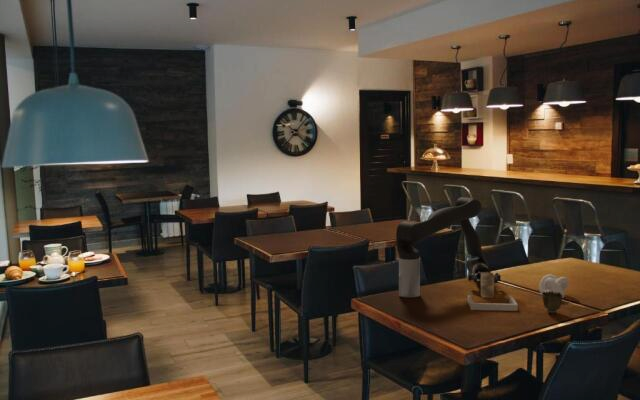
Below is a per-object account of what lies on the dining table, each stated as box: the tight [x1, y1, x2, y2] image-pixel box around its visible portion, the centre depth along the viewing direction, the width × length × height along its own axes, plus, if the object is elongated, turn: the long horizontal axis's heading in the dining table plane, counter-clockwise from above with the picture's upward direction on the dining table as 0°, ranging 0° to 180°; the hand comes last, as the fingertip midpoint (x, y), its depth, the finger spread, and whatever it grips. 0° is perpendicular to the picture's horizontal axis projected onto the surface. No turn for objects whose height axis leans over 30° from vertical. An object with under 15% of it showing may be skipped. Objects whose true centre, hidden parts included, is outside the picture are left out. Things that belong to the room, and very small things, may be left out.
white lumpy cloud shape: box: [538, 273, 569, 299], centre depth 252 cm, size 11×12×9 cm
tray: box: [467, 294, 519, 312], centre depth 240 cm, size 18×13×2 cm
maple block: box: [480, 272, 495, 299], centre depth 254 cm, size 5×5×10 cm
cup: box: [541, 291, 563, 315], centre depth 228 cm, size 8×7×8 cm
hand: (485, 280), depth 258 cm, fingers open, 8 cm apart
